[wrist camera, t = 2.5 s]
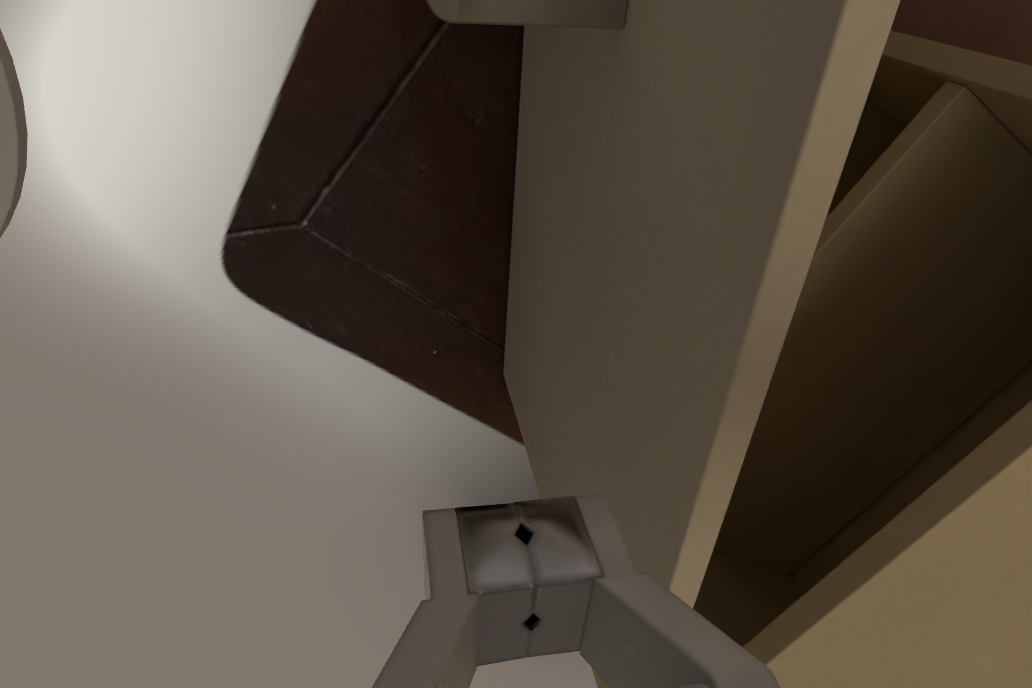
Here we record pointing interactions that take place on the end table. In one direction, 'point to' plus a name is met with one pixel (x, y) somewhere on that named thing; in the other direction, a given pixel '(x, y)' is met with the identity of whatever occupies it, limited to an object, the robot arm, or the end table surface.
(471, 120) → the end table surface
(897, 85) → the cupboard
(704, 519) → the door
